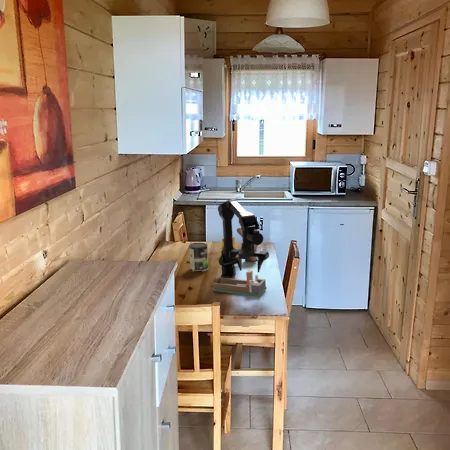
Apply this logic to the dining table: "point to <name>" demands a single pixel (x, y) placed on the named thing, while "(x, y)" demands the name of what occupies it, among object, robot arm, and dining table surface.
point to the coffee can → (198, 256)
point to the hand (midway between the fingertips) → (249, 271)
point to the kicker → (248, 278)
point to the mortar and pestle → (255, 248)
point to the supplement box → (223, 243)
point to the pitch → (231, 287)
